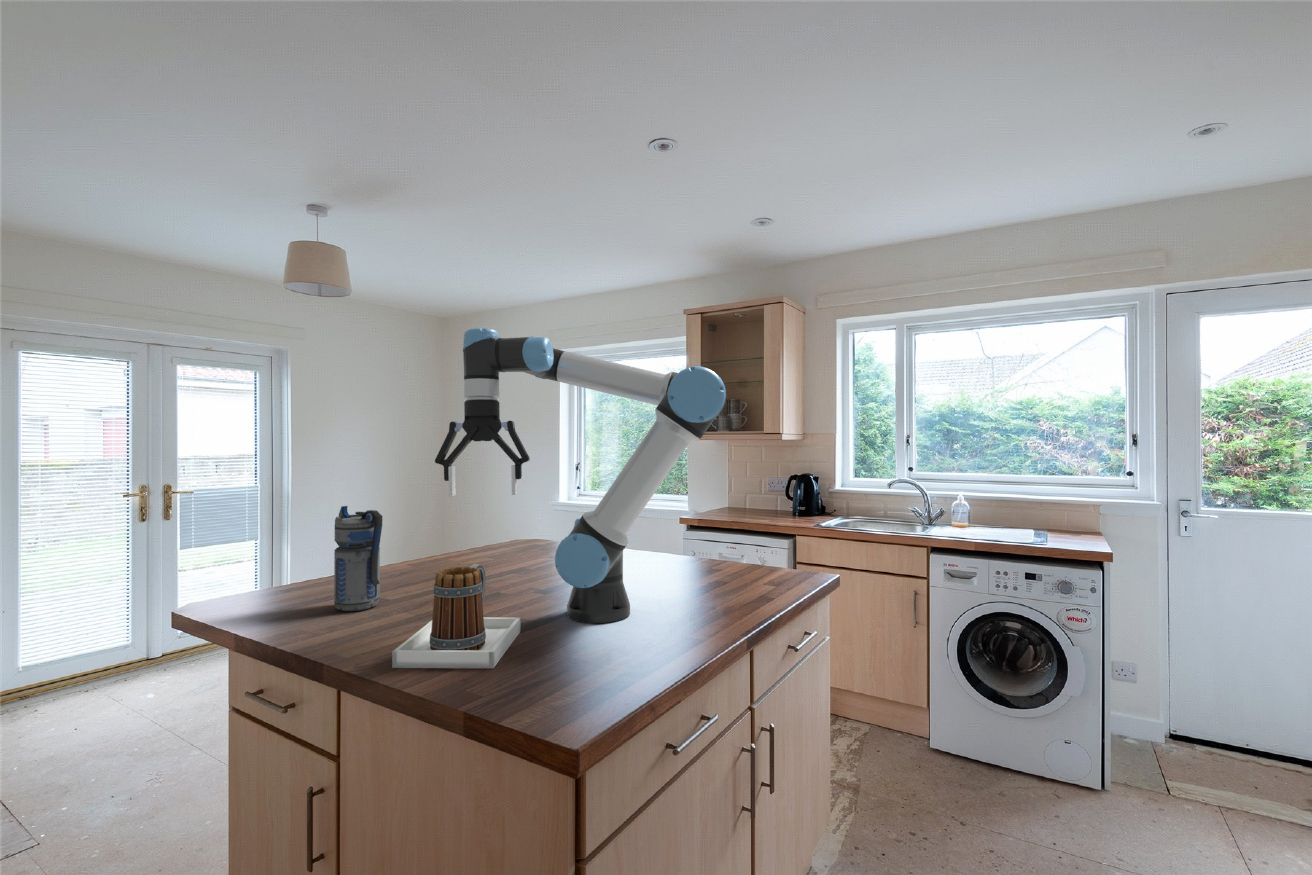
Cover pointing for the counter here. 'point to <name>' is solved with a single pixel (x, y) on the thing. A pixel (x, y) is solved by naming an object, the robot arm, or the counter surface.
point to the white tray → (421, 656)
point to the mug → (458, 609)
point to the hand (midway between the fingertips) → (483, 495)
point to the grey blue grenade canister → (357, 560)
